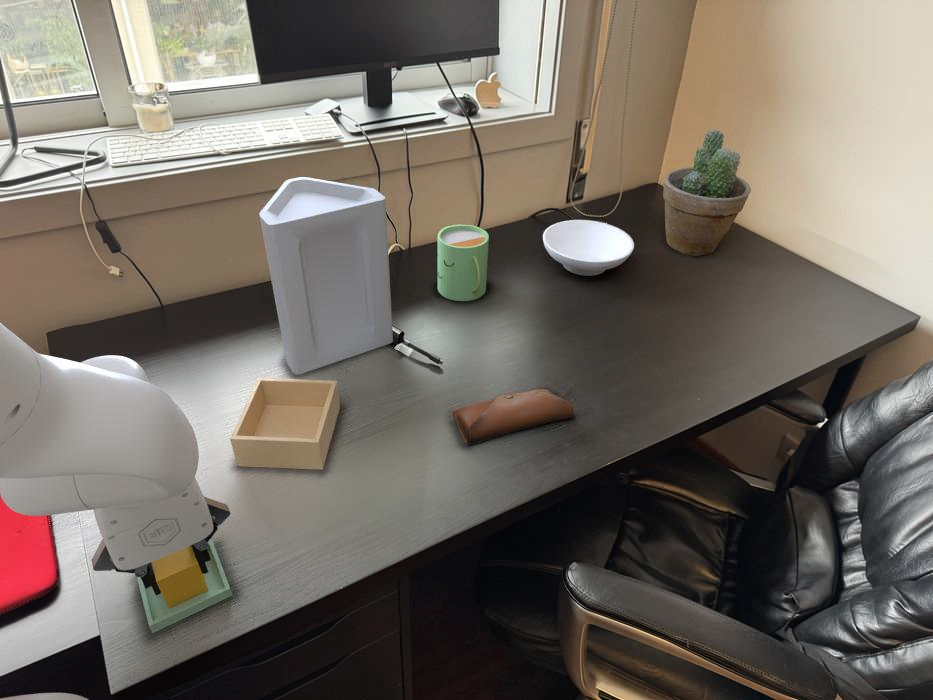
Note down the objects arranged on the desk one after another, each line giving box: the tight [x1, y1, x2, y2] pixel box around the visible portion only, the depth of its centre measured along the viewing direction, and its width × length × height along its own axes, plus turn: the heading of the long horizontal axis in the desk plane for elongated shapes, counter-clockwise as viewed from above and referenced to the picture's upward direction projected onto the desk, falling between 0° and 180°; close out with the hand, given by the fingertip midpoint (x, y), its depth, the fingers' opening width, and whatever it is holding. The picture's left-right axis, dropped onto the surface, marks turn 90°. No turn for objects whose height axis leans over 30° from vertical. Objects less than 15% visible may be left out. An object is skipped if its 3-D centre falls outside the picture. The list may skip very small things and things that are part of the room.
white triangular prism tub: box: [258, 176, 394, 376], centre depth 109 cm, size 19×15×28 cm
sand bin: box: [229, 377, 341, 471], centre depth 96 cm, size 13×12×6 cm
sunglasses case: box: [452, 388, 574, 446], centre depth 100 cm, size 18×7×7 cm
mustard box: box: [151, 545, 208, 609], centre depth 74 cm, size 4×4×6 cm
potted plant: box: [662, 129, 752, 257], centre depth 143 cm, size 18×19×25 cm
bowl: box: [542, 219, 635, 277], centre depth 139 cm, size 20×20×7 cm
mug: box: [435, 224, 490, 302], centre depth 128 cm, size 13×10×12 cm
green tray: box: [136, 539, 233, 634], centre depth 76 cm, size 9×8×2 cm
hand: (179, 573), depth 75 cm, fingers closed on mustard box, 4 cm apart
